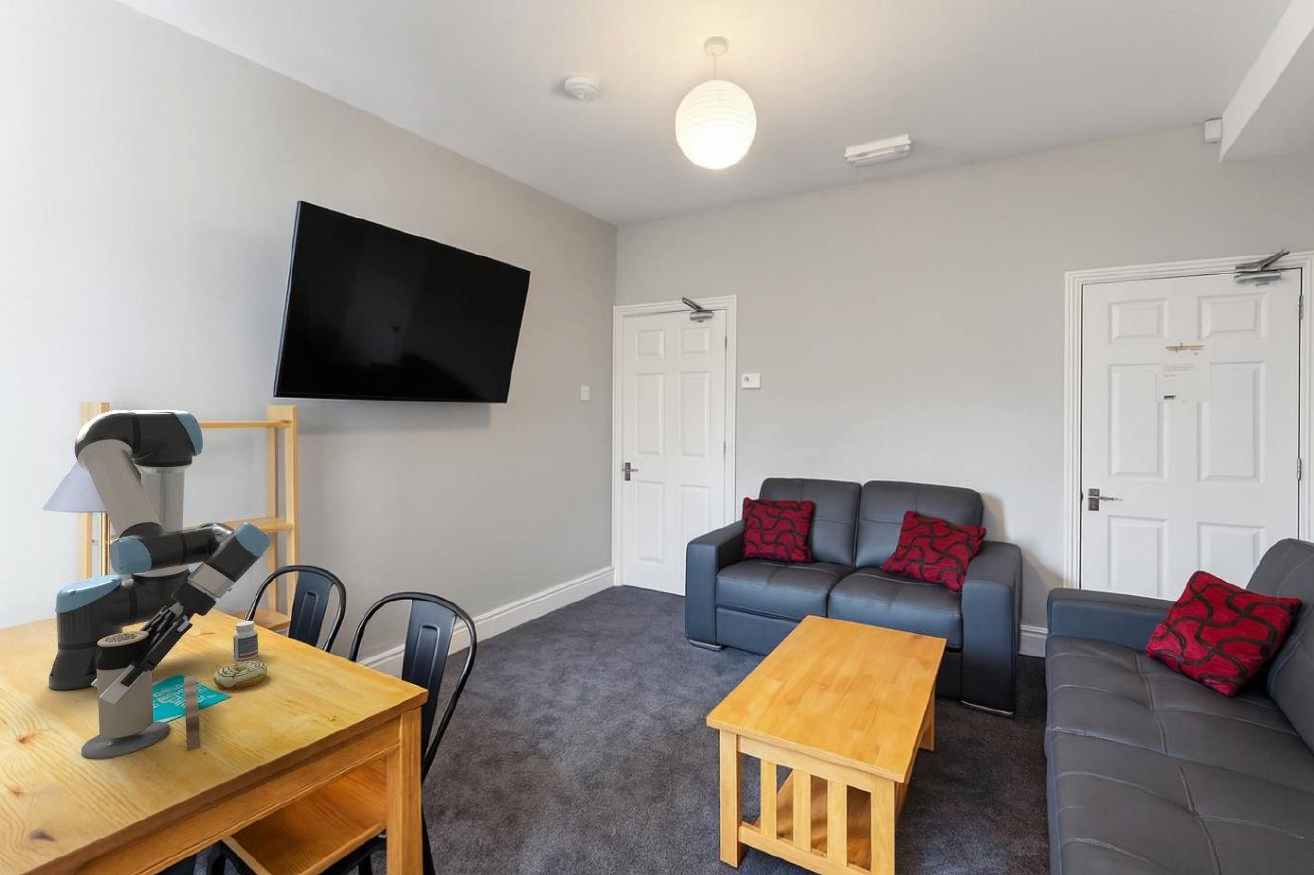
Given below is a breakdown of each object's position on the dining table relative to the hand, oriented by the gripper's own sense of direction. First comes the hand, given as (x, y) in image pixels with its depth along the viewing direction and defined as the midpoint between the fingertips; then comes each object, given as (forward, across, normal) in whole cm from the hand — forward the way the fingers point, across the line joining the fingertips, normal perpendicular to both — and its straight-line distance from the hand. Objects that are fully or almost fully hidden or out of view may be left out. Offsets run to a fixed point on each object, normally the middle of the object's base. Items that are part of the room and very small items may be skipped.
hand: (102, 693), depth 118 cm
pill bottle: (-15, +31, -30) cm, 46 cm away
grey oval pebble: (+5, 0, -10) cm, 11 cm away
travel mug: (+4, 0, -8) cm, 9 cm away
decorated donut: (-11, +14, -26) cm, 32 cm away
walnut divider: (-2, -2, -16) cm, 17 cm away
